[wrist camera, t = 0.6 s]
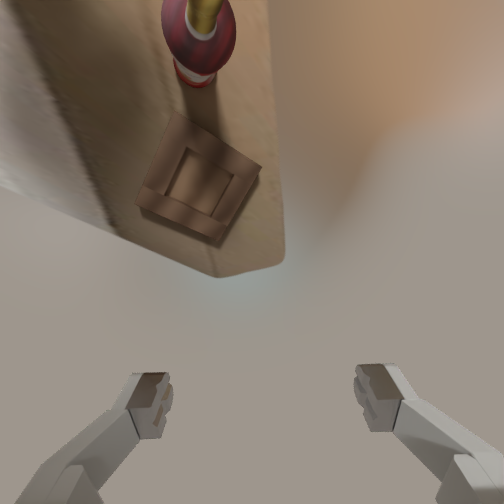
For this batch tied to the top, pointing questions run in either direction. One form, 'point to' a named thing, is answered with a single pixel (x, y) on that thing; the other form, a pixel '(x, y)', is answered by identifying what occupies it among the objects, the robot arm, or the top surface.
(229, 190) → the plinth
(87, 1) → the top surface
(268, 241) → the top surface
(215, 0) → the liquor
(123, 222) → the top surface
